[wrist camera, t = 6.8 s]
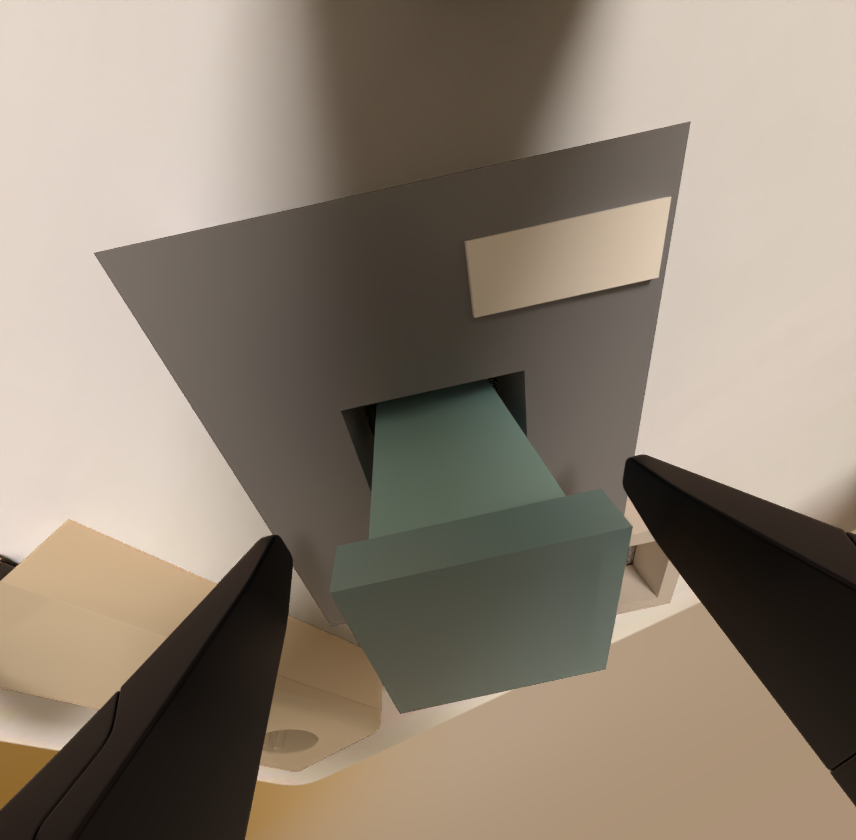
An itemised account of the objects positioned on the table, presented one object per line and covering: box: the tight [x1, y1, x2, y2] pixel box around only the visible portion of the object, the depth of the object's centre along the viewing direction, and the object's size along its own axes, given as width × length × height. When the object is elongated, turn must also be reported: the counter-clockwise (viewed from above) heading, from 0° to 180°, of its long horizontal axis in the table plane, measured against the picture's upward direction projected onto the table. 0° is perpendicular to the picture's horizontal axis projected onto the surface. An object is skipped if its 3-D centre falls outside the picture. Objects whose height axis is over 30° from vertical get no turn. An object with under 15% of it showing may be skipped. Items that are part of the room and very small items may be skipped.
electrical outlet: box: [0, 519, 382, 772], centre depth 17 cm, size 7×4×18 cm
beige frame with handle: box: [616, 497, 679, 615], centre depth 17 cm, size 10×6×2 cm, turn 101°
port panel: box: [94, 122, 690, 626], centre depth 11 cm, size 12×14×3 cm
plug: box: [329, 379, 633, 714], centre depth 9 cm, size 4×4×8 cm
